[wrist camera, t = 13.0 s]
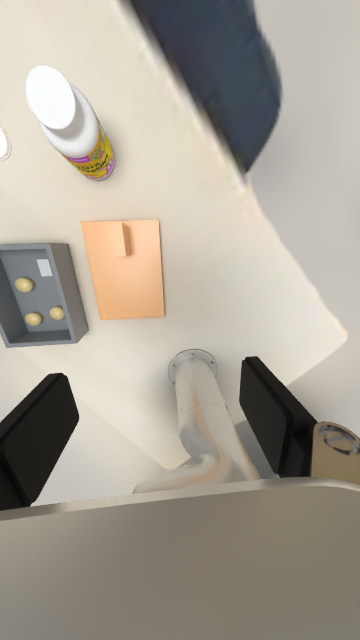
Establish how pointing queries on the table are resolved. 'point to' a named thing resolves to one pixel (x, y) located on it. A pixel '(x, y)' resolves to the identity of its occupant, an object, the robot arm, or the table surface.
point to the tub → (39, 296)
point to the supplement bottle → (69, 122)
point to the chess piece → (4, 145)
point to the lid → (125, 267)
